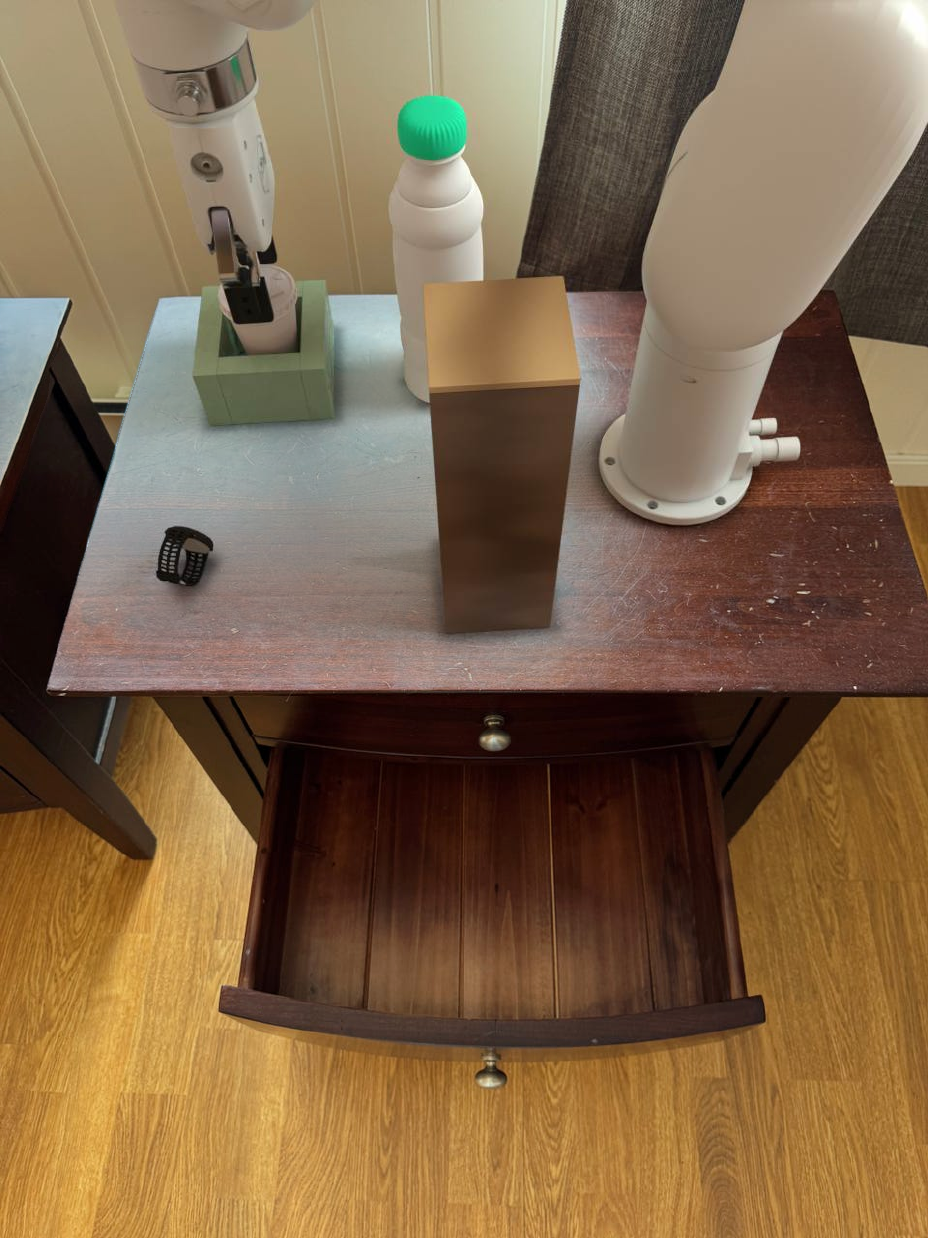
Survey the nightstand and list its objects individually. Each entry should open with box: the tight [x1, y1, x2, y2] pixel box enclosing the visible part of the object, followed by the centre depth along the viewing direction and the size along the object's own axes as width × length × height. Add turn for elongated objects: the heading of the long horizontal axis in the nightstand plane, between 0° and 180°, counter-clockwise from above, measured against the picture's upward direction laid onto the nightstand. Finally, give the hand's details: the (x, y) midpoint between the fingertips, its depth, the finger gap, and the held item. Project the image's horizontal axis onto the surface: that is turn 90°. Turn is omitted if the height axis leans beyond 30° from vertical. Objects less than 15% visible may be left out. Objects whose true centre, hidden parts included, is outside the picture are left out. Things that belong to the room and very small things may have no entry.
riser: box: [423, 275, 582, 634], centre depth 63 cm, size 8×8×26 cm
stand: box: [192, 279, 335, 427], centre depth 83 cm, size 11×11×6 cm
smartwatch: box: [155, 525, 215, 588], centre depth 73 cm, size 4×5×5 cm
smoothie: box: [218, 252, 300, 356], centre depth 80 cm, size 6×6×14 cm
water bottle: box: [387, 94, 484, 404], centre depth 75 cm, size 7×7×25 cm
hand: (256, 289), depth 77 cm, fingers closed on smoothie, 6 cm apart
